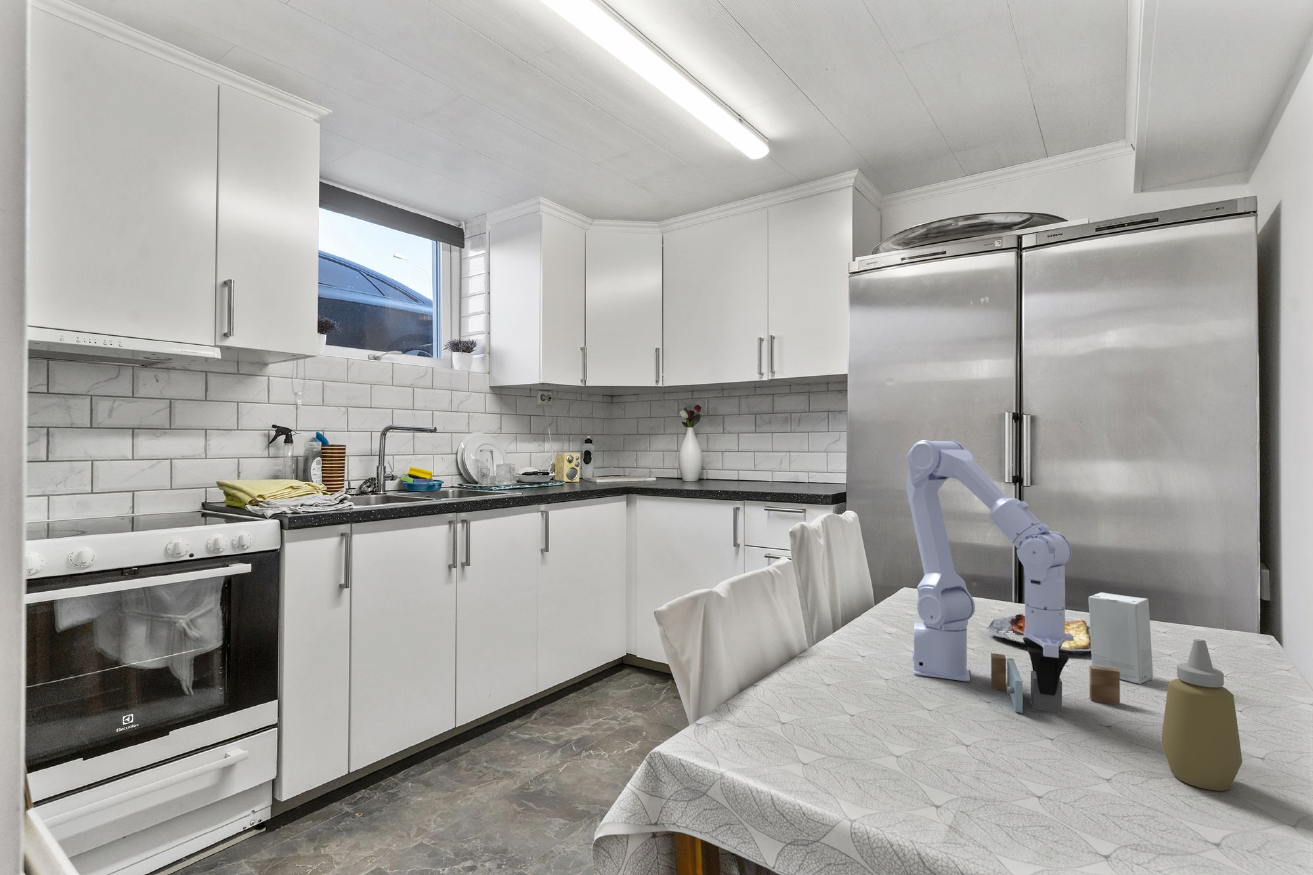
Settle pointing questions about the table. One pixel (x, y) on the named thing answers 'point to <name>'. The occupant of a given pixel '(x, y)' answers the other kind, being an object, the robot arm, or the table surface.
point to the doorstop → (1045, 697)
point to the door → (1014, 685)
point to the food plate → (1073, 627)
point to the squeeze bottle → (1201, 724)
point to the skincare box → (1121, 635)
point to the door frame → (1101, 680)
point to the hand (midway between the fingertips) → (1044, 688)
